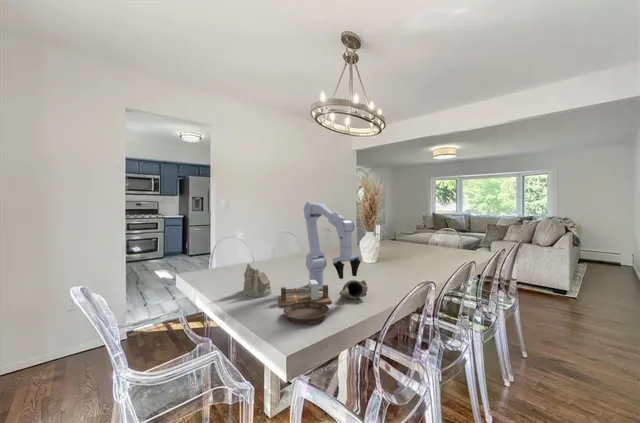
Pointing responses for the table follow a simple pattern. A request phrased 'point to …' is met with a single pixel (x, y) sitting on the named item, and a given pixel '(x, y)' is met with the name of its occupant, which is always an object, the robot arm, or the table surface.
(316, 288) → the collar
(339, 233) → the robot arm
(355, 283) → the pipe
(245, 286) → the ceramic cottage
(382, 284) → the table surface
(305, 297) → the rod stand
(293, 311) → the plant saucer
